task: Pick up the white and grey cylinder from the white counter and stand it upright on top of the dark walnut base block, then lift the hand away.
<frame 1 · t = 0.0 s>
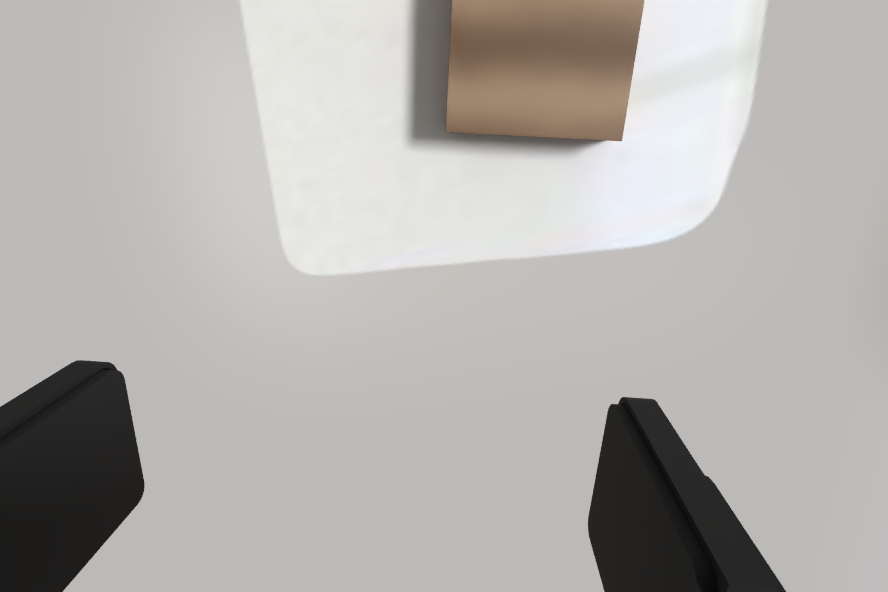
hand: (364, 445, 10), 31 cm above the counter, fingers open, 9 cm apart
walnut base: (537, 45, 35), on the counter
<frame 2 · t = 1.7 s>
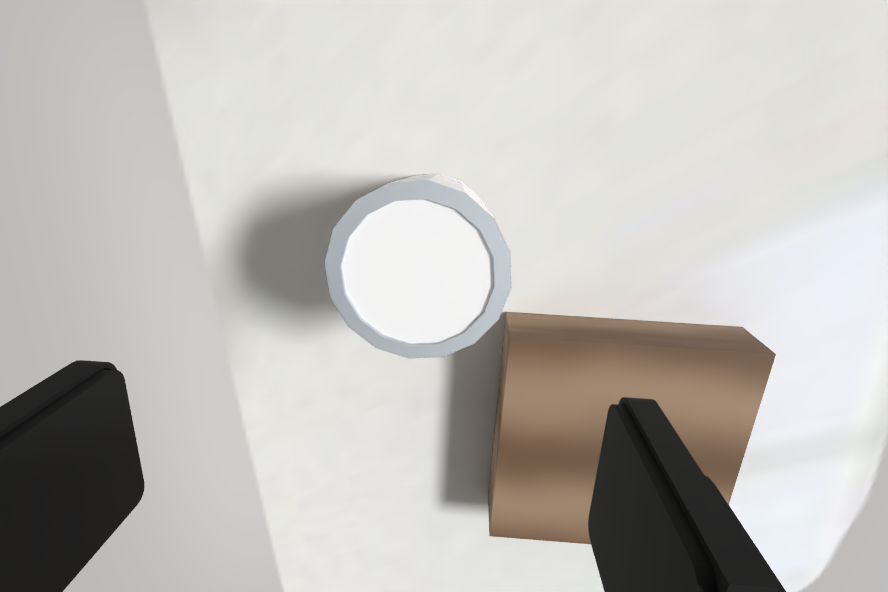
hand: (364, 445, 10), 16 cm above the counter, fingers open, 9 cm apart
white and grey cylinder: (432, 230, 25), on the counter
walnut base: (604, 418, 28), on the counter
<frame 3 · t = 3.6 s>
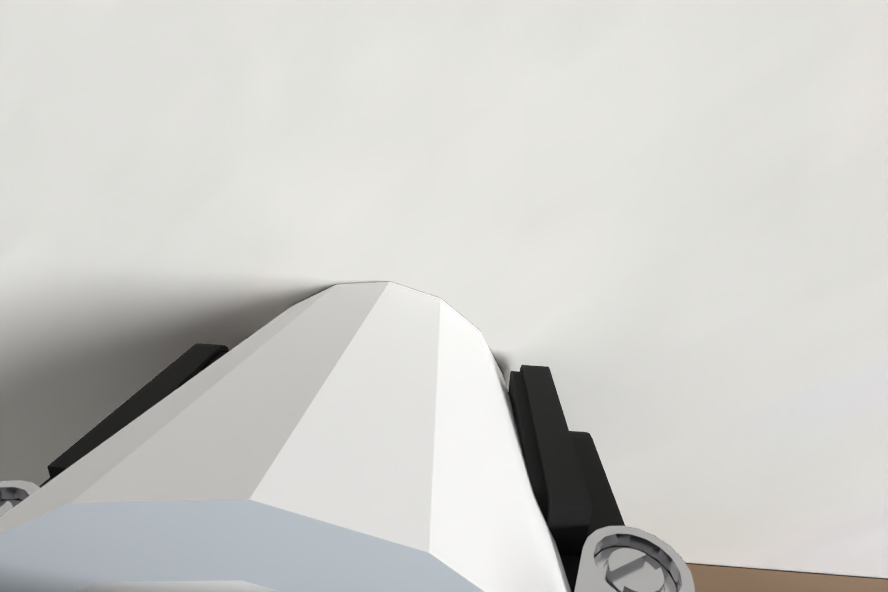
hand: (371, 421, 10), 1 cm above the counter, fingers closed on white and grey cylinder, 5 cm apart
white and grey cylinder: (380, 395, 11), on the counter, touching gripper
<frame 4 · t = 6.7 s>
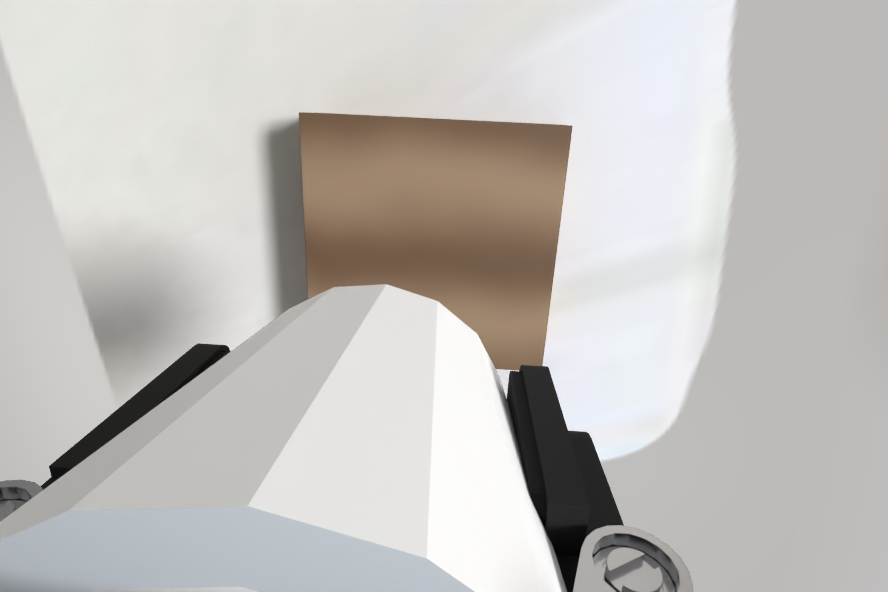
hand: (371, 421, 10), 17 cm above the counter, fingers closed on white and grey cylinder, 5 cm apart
white and grey cylinder: (377, 398, 11), point 16 cm above the counter, touching gripper
walnut base: (433, 237, 27), on the counter
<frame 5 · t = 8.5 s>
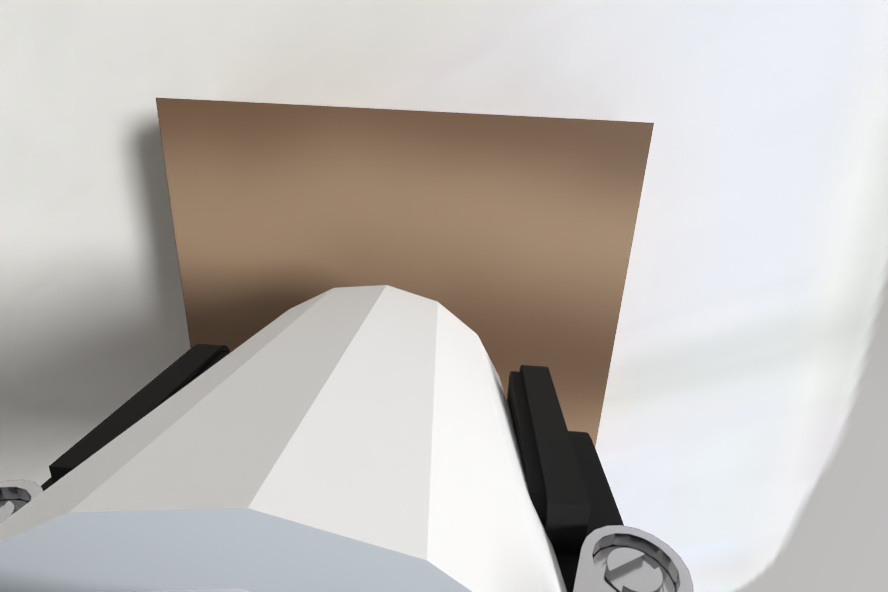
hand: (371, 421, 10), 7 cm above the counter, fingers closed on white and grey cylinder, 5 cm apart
white and grey cylinder: (377, 398, 11), point 6 cm above the counter, touching gripper
walnut base: (409, 300, 17), on the counter
when the fingers open (5 cm above the counter, at t = 9.8 s): white and grey cylinder drops 1 cm, resting on walnut base.
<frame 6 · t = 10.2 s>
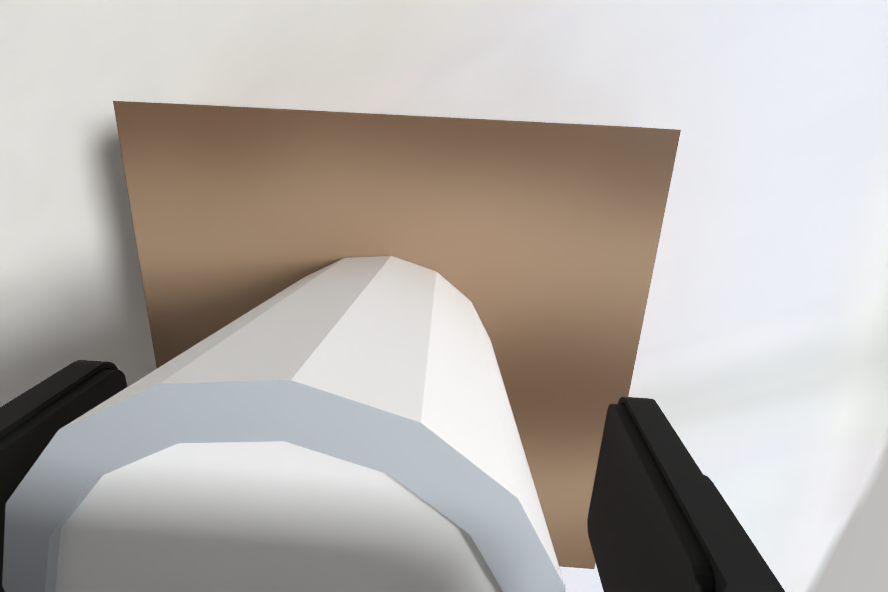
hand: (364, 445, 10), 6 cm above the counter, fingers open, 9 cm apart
white and grey cylinder: (381, 360, 13), point 3 cm above the counter, touching walnut base
walnut base: (403, 323, 15), on the counter
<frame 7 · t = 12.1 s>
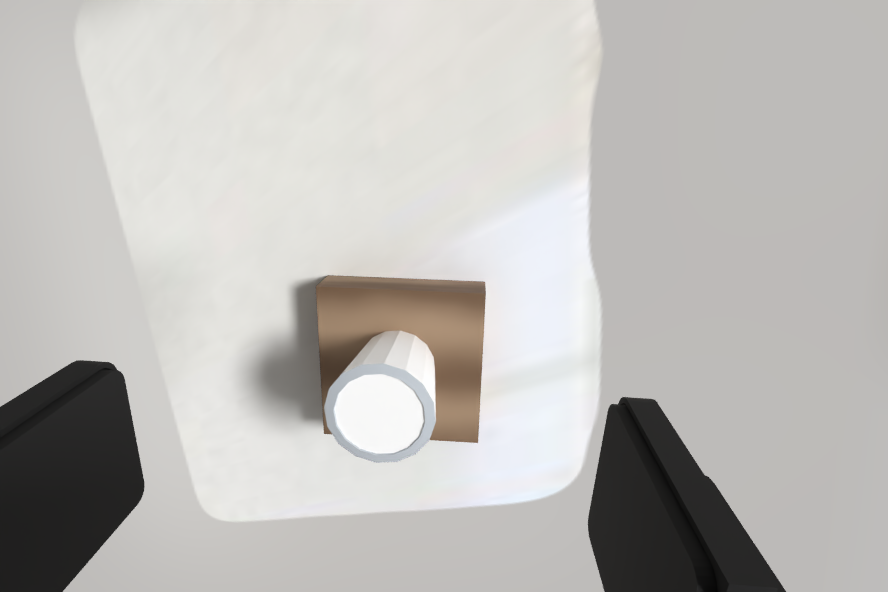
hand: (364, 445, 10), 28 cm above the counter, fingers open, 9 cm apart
white and grey cylinder: (397, 364, 37), point 3 cm above the counter, touching walnut base
walnut base: (405, 351, 40), on the counter
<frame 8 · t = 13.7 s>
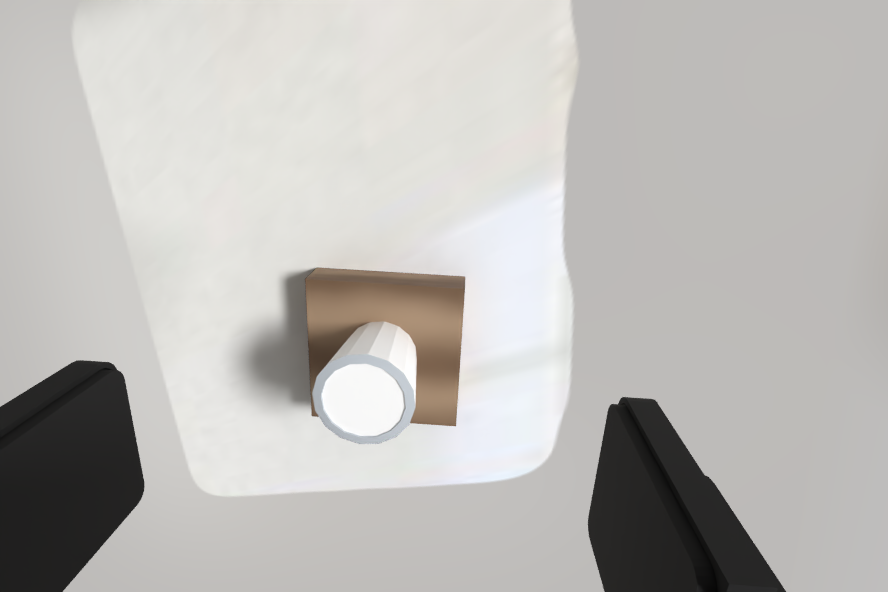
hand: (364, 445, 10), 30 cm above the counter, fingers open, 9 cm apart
white and grey cylinder: (381, 353, 40), point 3 cm above the counter, touching walnut base
walnut base: (389, 340, 42), on the counter
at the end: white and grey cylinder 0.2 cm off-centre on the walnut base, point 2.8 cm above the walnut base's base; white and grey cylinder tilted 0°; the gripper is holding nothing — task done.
